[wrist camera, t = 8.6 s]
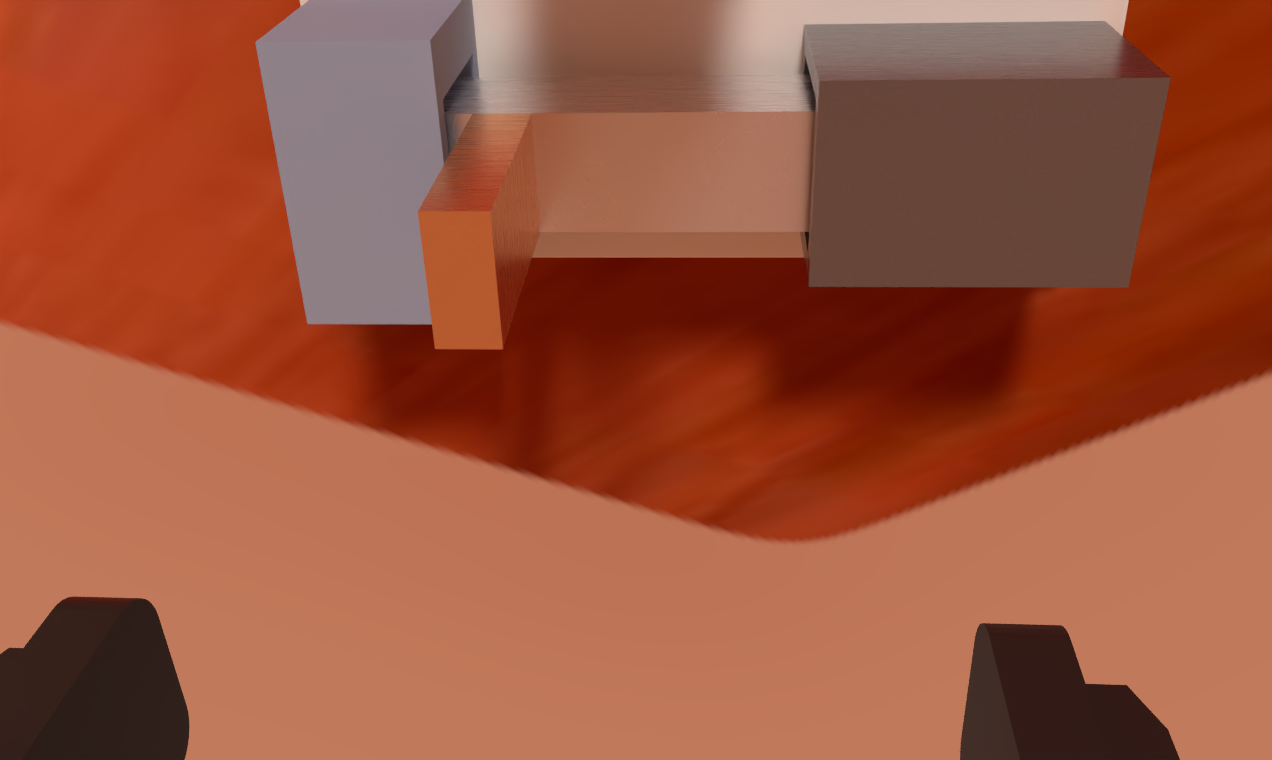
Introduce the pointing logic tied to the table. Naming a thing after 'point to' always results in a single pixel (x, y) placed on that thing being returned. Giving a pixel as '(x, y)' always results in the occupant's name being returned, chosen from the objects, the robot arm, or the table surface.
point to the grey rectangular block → (978, 154)
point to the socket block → (363, 145)
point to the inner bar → (602, 175)
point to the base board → (705, 69)
